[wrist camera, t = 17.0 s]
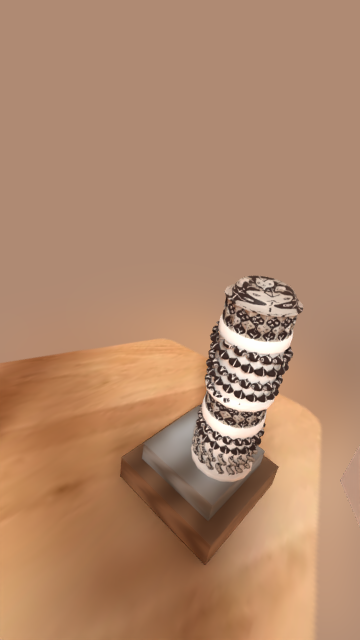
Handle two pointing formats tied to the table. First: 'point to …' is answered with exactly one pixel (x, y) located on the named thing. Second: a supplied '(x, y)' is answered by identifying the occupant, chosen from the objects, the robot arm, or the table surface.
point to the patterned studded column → (243, 375)
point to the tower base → (185, 512)
